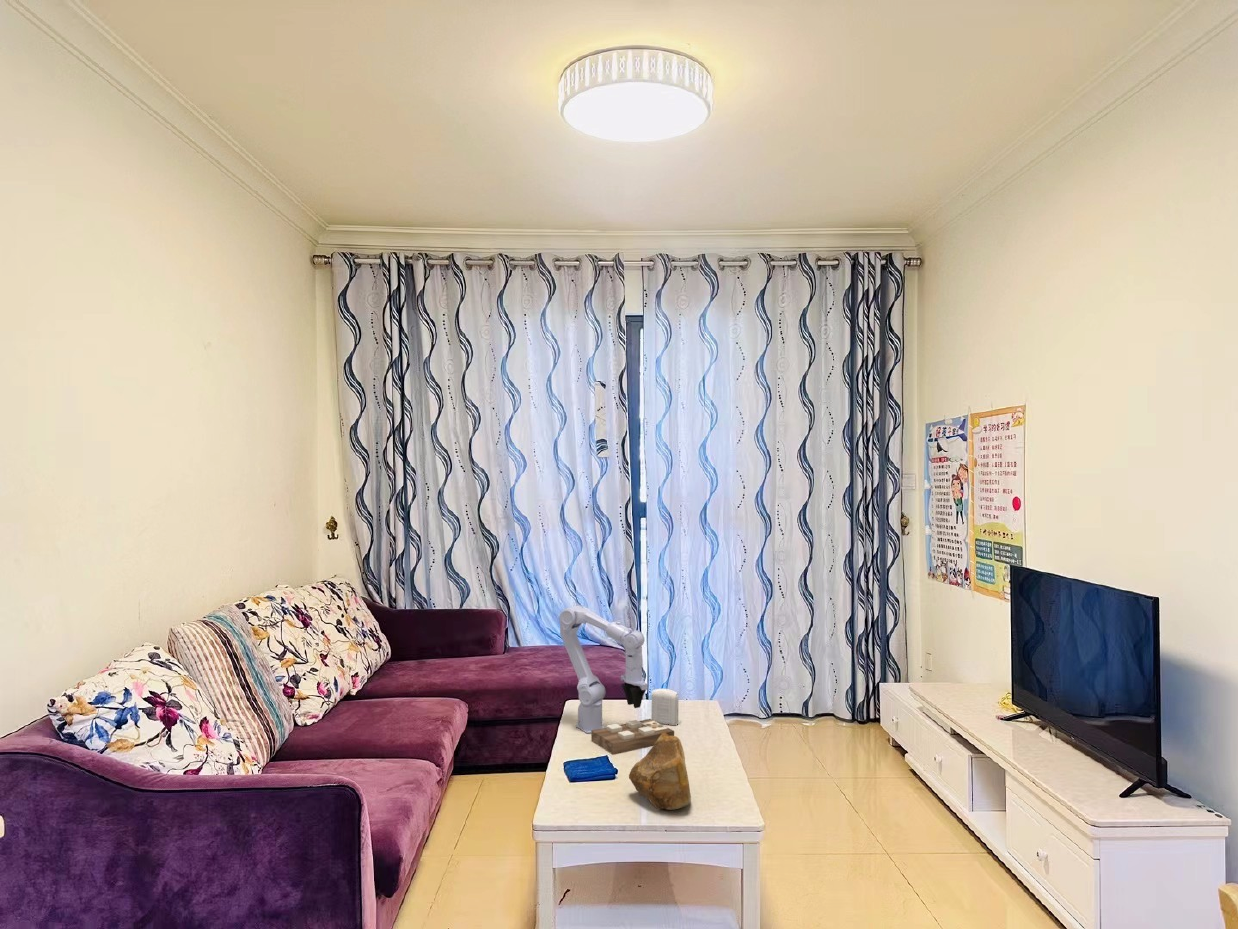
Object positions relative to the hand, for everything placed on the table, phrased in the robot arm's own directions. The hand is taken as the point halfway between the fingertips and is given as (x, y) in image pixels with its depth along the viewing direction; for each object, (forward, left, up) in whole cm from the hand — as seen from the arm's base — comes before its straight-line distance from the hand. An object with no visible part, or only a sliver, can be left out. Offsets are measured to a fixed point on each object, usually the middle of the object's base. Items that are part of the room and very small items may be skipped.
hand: (633, 706), depth 260 cm
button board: (+4, -3, -10) cm, 12 cm away
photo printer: (-6, +17, -11) cm, 21 cm away
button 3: (0, 0, -7) cm, 7 cm away
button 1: (0, -8, -7) cm, 11 cm away
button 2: (+8, -8, -7) cm, 13 cm away
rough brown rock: (+46, -20, -11) cm, 51 cm away
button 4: (+8, 0, -7) cm, 11 cm away
